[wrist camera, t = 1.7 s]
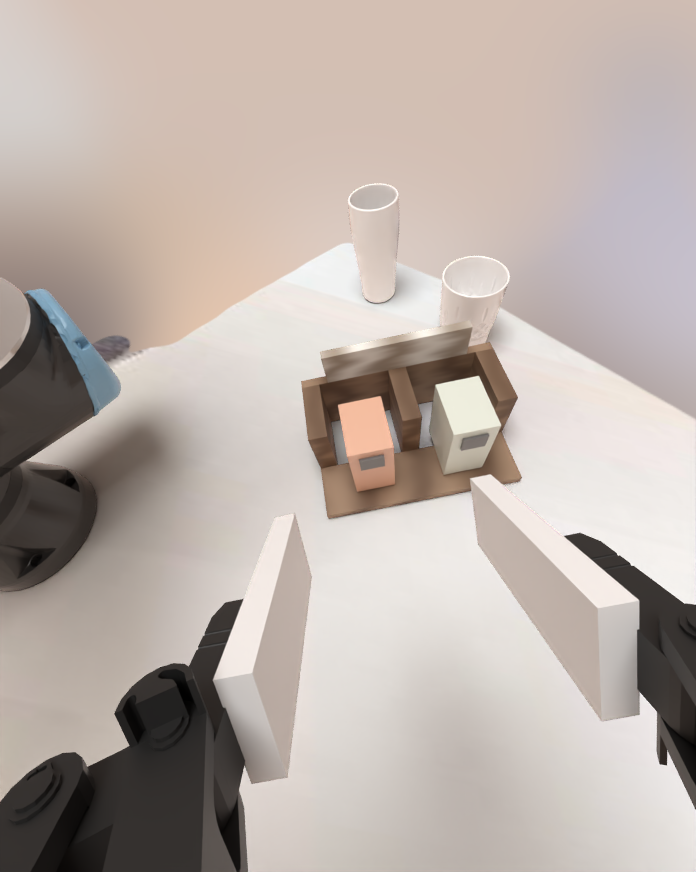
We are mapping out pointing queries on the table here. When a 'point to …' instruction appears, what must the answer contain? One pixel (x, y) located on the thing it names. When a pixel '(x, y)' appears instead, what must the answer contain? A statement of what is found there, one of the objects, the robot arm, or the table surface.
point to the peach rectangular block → (368, 443)
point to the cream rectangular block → (462, 424)
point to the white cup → (473, 294)
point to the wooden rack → (404, 412)
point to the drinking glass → (375, 238)
